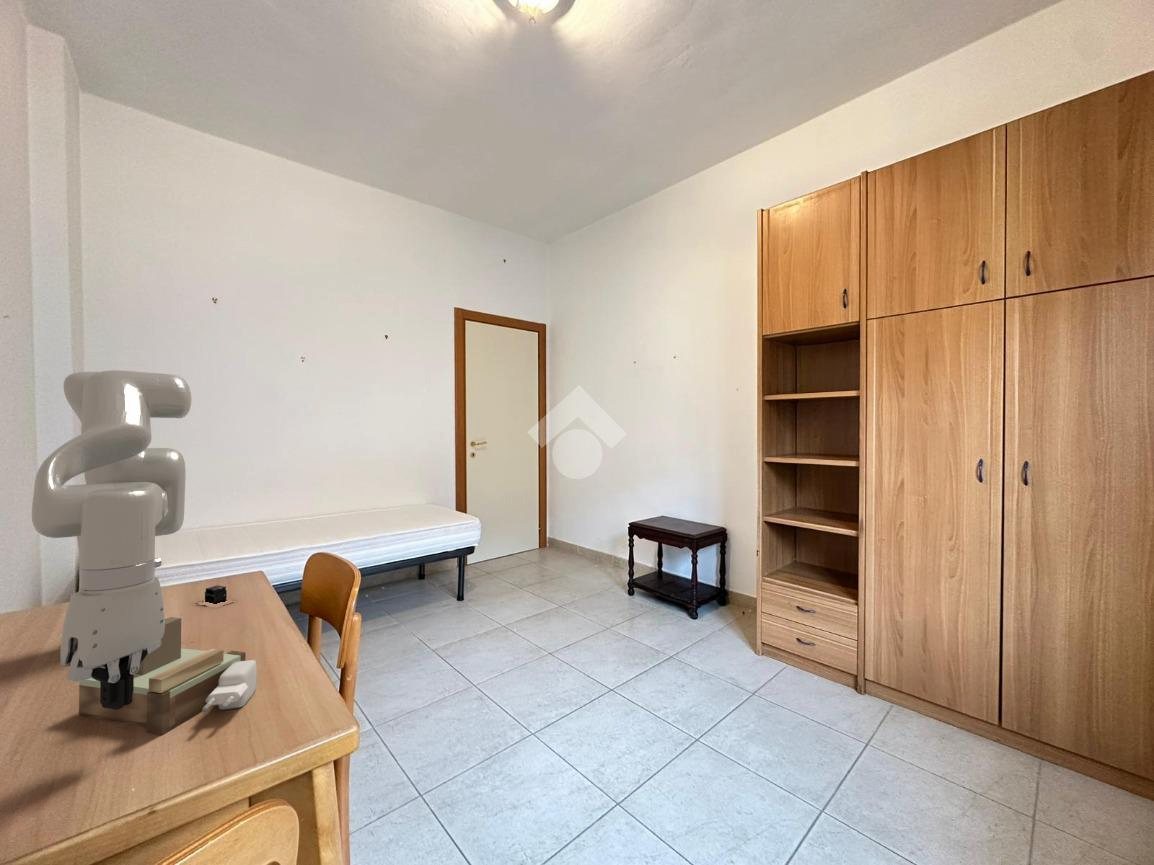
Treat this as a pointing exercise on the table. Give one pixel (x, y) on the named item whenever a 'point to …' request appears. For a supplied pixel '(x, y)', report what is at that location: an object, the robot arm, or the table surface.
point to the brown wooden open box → (152, 705)
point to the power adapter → (234, 686)
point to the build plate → (216, 594)
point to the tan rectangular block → (185, 670)
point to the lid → (169, 662)
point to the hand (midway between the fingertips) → (117, 705)
